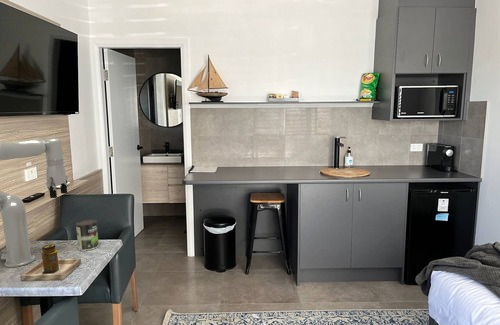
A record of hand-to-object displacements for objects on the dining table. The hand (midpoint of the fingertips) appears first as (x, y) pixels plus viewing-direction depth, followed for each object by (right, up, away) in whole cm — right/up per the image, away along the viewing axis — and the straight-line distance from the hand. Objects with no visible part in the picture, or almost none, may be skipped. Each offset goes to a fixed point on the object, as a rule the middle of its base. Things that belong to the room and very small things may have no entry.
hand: (59, 195), depth 177 cm
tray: (+8, -33, -19) cm, 39 cm away
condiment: (+8, -33, -20) cm, 39 cm away
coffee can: (+11, -29, +9) cm, 33 cm away
